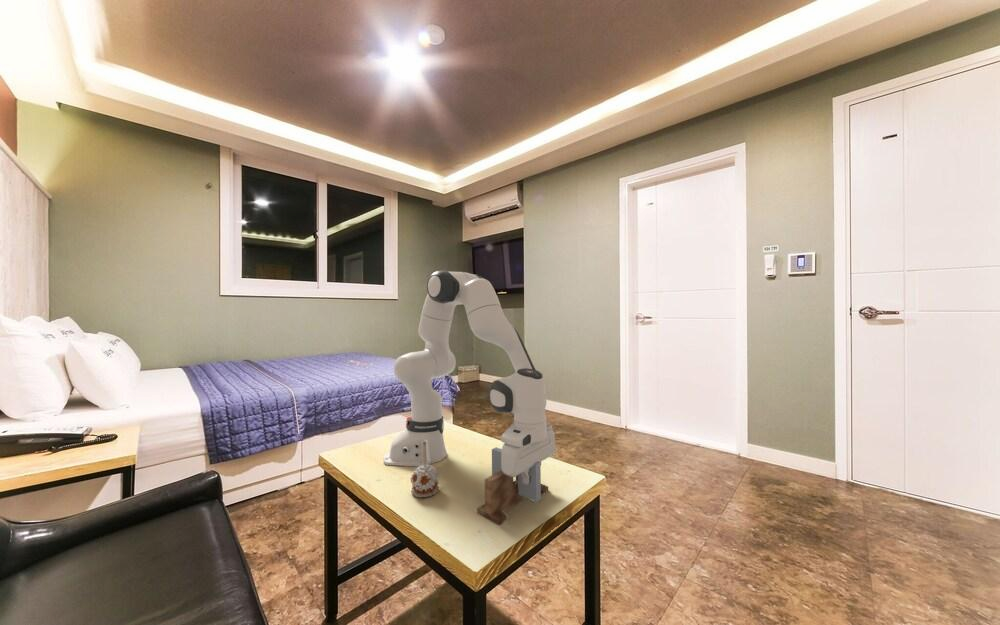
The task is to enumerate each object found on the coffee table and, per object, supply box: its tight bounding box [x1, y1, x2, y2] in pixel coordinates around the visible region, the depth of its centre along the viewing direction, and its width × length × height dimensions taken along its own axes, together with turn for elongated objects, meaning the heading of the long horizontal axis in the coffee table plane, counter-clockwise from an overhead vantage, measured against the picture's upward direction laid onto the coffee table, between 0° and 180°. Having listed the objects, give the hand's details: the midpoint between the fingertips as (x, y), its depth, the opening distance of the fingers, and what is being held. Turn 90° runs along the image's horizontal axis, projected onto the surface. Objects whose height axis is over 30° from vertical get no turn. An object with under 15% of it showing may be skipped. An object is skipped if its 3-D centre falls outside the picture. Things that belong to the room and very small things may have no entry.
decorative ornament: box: [410, 442, 440, 498], centre depth 106 cm, size 8×8×15 cm
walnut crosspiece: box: [476, 470, 549, 526], centre depth 100 cm, size 22×8×10 cm, turn 139°
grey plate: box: [491, 447, 542, 503], centre depth 100 cm, size 16×2×10 cm, turn 49°
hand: (530, 480), depth 96 cm, fingers closed on grey plate, 2 cm apart
